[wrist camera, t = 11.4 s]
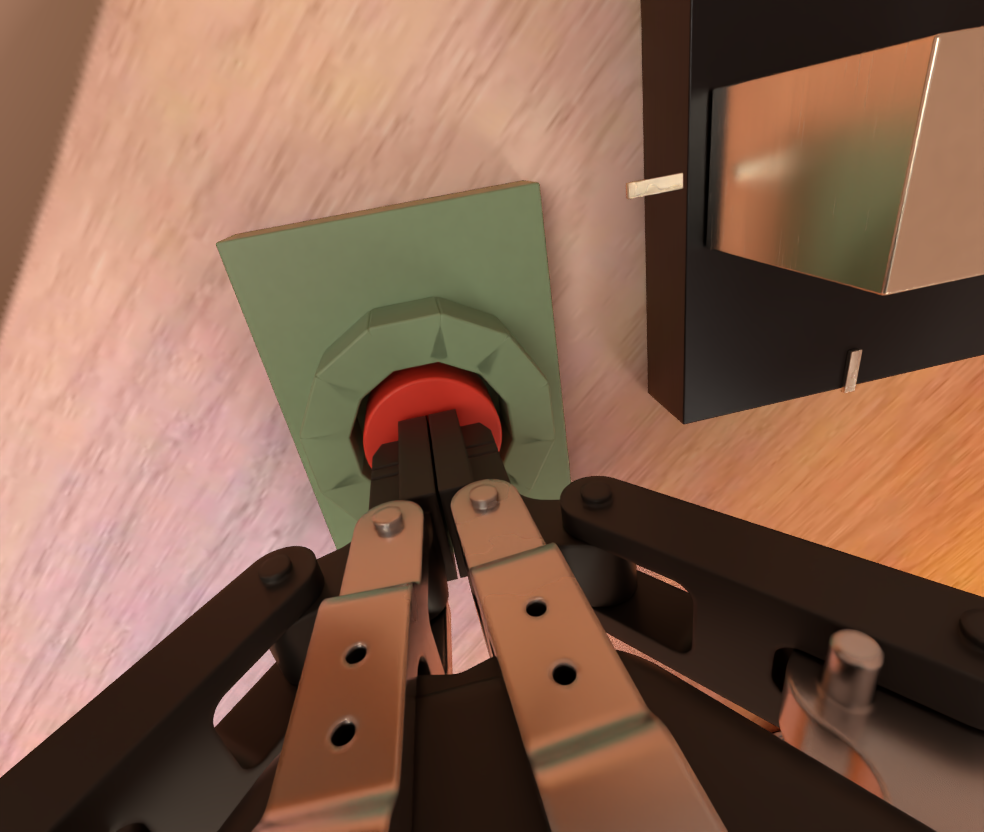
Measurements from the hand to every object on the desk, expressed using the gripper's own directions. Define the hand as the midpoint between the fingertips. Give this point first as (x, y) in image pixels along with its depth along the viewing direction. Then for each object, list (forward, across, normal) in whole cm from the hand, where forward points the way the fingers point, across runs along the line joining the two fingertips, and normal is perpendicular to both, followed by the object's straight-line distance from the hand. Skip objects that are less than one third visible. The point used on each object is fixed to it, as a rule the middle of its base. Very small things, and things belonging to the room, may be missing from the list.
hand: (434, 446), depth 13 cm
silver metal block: (+1, -13, -5) cm, 14 cm away
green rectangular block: (+4, 0, 0) cm, 4 cm away
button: (+2, 0, 0) cm, 2 cm away
